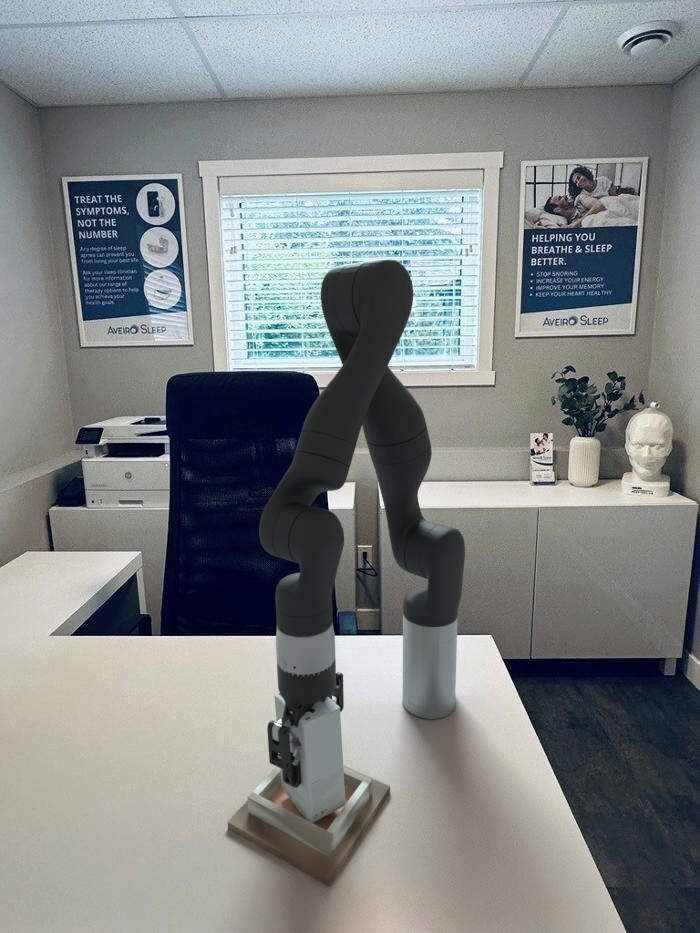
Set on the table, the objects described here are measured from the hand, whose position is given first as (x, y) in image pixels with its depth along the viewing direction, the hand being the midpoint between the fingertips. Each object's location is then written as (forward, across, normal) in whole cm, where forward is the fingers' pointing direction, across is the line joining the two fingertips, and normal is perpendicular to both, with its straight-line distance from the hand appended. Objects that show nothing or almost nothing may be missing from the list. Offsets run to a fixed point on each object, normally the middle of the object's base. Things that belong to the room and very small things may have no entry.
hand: (310, 763), depth 74 cm
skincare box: (+5, 0, 0) cm, 5 cm away
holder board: (+7, 0, 0) cm, 7 cm away
